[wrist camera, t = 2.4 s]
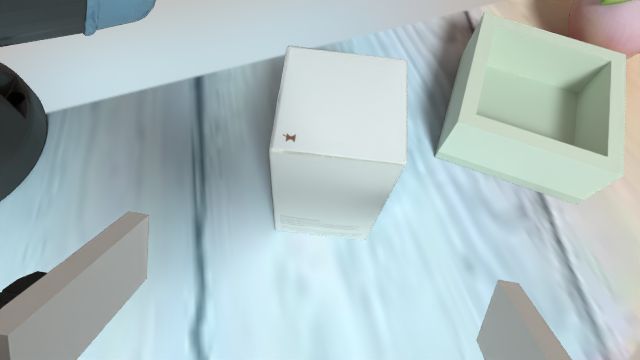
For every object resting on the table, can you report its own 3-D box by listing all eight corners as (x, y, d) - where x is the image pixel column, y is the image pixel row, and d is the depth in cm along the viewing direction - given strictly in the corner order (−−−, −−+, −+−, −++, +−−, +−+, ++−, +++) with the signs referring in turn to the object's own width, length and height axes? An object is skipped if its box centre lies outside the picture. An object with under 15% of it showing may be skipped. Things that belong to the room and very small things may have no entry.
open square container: (434, 157, 36) (457, 121, 31) (461, 56, 41) (484, 12, 36) (576, 204, 35) (623, 175, 30) (584, 94, 40) (626, 54, 35)
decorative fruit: (590, 12, 45) (665, -78, 36) (646, 66, 42) (742, -19, 33) (526, 38, 43) (588, -52, 34) (579, 96, 40) (664, 14, 31)
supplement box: (367, 243, 32) (409, 168, 21) (272, 231, 32) (263, 150, 21) (371, 160, 35) (411, 57, 24) (286, 149, 35) (284, 40, 24)
